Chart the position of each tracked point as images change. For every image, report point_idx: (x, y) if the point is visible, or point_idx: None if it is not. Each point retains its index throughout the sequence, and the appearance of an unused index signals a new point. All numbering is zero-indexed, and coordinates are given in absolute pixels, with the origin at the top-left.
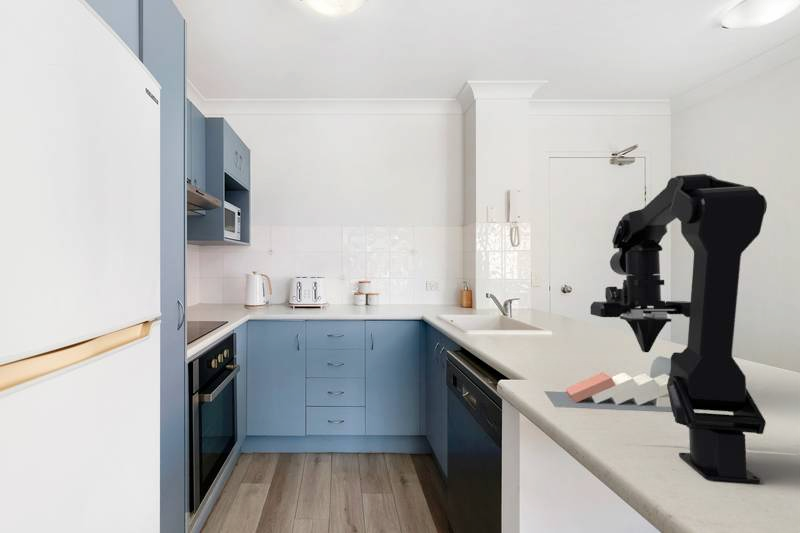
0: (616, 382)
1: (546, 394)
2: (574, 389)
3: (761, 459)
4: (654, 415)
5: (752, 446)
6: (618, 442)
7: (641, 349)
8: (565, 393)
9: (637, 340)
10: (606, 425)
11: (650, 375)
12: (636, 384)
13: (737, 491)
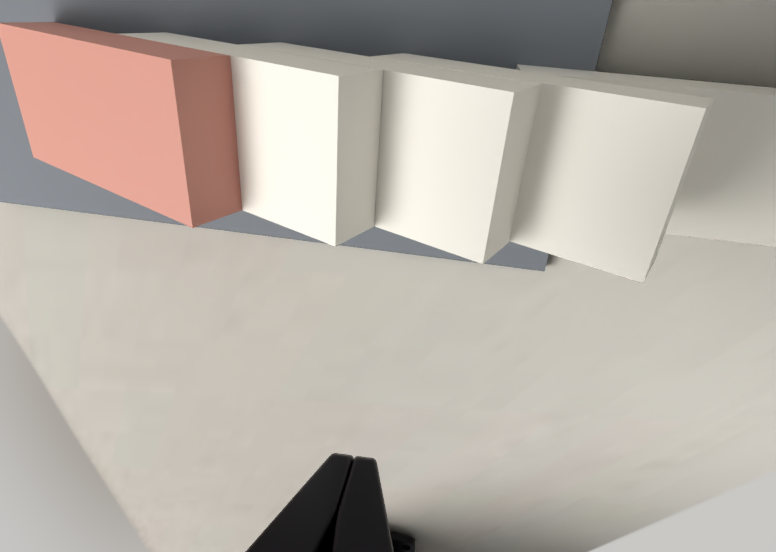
0: (255, 181)
1: None
2: (39, 111)
3: (509, 540)
4: (416, 273)
5: (562, 494)
6: (186, 449)
7: (322, 467)
8: None
9: (256, 540)
10: (182, 354)
11: None
12: (382, 202)
13: None
